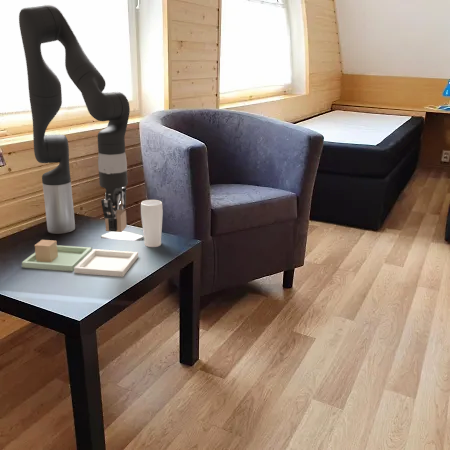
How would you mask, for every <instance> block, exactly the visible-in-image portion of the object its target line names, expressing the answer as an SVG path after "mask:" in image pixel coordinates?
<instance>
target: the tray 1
mask: <svg viewBox="0 0 450 450" xmlns="http://www.w3.org/2000/svg"><path fill="white" fill-rule="evenodd" d="M92 250H93V247H89V246H88V247H87V246H74V245H60V244H59V245H58V244H57V251H58V257H56V258H55V259H54V260H53V261H52V262H43V261H36V253H35V252H34V253H32V254H31V255H29V256H28V257H27V258H25V259H24V260H23V261H21V268H26V269H38V270H40V269H42V270H50V271H51V270H53V271H64V272H74V267H75V266H77V265H78V264H79V263H80V262H81V261H82V260H83V259H84V258H85V257H86V256H87V255H88V254H89V253H90V252H91V251H92Z"/></svg>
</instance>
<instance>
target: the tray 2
mask: <svg viewBox="0 0 450 450" xmlns="http://www.w3.org/2000/svg"><path fill="white" fill-rule="evenodd" d="M138 258H139V251H130V250H129V251H127V250H125V251H123V250H110V249H98V248H95V249H94V248H92V251H91V252H90V253H89V254H88V255H87V256H86V257H85V258H84V259H83V260H82V261H81V262H80V263H79V264H78V265H77V266H75V267H74V270H73V272H74V274H86V275H99V276H111V277H123V278H124V276H125V275H126V274H127V272H128V271H129V270H130V268H131V267H132V266H133V265H134V263H135V262H136V261H137V259H138Z"/></svg>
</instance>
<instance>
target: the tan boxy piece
mask: <svg viewBox="0 0 450 450" xmlns="http://www.w3.org/2000/svg"><path fill="white" fill-rule="evenodd" d="M57 245H58V244H57V240H52V239H51V240H50V239H40V241H38V242H37V243H36V244H34V253H36V261H43V262H52V261H53V260H54V259H55V258H56V257H58V251H57Z"/></svg>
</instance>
